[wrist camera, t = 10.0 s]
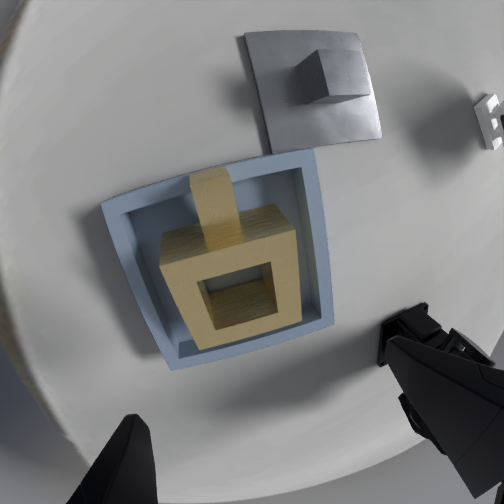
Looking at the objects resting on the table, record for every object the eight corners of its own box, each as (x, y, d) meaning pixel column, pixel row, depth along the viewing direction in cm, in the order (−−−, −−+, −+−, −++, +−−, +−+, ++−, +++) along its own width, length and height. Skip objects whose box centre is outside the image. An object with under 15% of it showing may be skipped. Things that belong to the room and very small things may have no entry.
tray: (321, 308, 23) (334, 324, 20) (172, 350, 21) (171, 370, 19) (298, 148, 18) (313, 148, 15) (112, 197, 16) (100, 203, 14)
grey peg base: (379, 138, 18) (412, 138, 15) (271, 153, 18) (290, 153, 14) (354, 35, 15) (382, 18, 12) (243, 35, 14) (255, 9, 11)
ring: (285, 288, 21) (301, 321, 18) (194, 313, 20) (199, 350, 17) (267, 155, 15) (289, 173, 12) (146, 187, 14) (137, 212, 11)
